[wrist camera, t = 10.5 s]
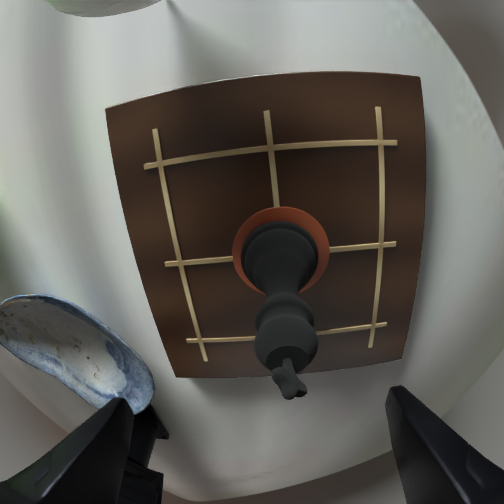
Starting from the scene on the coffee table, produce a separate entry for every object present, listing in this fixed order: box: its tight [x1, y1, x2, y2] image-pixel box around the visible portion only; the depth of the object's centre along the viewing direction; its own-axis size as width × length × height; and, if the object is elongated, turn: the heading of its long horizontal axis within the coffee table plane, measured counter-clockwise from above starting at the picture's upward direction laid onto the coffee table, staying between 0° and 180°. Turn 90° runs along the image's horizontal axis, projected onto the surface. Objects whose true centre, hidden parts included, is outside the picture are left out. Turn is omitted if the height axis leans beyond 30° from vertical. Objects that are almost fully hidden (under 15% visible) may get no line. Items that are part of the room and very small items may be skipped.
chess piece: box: [241, 221, 319, 400], centre depth 13 cm, size 4×4×10 cm
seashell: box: [0, 294, 155, 415], centre depth 21 cm, size 15×12×5 cm
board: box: [105, 71, 426, 378], centre depth 18 cm, size 20×18×2 cm
